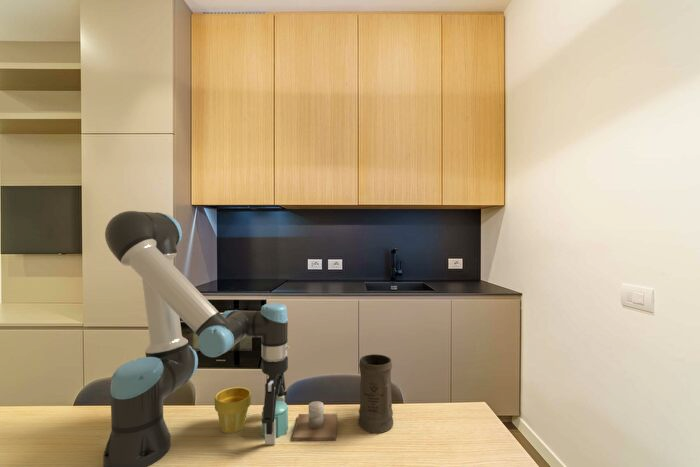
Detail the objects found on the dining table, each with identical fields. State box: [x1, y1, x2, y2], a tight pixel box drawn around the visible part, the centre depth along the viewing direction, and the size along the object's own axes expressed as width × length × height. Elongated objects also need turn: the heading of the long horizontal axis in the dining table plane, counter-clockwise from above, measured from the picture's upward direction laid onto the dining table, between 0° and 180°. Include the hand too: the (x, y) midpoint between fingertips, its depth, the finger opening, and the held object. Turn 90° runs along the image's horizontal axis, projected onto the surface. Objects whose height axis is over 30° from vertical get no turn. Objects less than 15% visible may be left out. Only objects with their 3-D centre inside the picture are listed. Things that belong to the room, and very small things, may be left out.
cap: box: [261, 401, 289, 439], centre depth 100 cm, size 7×7×7 cm
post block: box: [292, 400, 338, 442], centre depth 101 cm, size 12×12×7 cm
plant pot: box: [214, 386, 252, 434], centre depth 102 cm, size 10×10×10 cm
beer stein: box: [357, 353, 394, 434], centre depth 106 cm, size 15×11×20 cm
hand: (275, 429), depth 100 cm, fingers open, 12 cm apart
